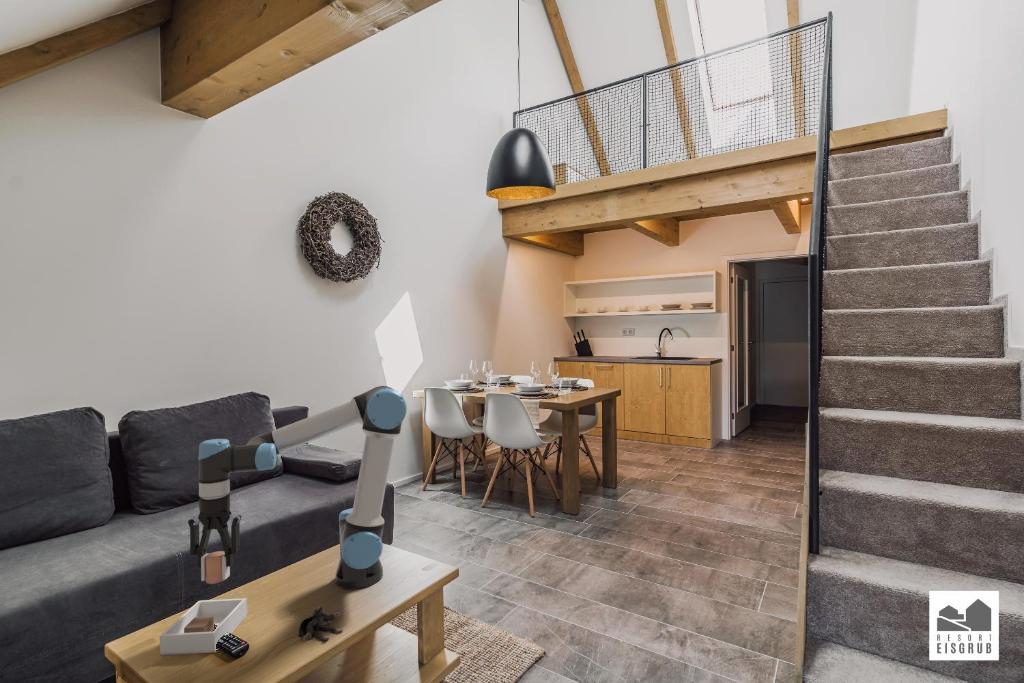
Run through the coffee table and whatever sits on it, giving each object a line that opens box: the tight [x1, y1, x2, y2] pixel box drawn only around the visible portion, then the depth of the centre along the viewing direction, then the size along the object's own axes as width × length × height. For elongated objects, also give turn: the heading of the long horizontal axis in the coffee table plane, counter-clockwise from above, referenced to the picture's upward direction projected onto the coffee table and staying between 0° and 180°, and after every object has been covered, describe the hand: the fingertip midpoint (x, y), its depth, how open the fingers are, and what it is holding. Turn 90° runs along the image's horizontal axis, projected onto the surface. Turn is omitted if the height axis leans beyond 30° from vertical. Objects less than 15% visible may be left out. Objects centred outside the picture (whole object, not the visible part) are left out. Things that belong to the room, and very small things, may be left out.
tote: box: [159, 597, 248, 656], centre depth 140 cm, size 14×18×5 cm
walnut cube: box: [184, 616, 214, 633], centre depth 136 cm, size 5×5×5 cm
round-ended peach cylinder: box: [205, 550, 225, 585], centre depth 145 cm, size 5×5×7 cm
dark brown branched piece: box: [298, 605, 343, 642], centre depth 142 cm, size 12×10×12 cm
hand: (215, 577), depth 144 cm, fingers closed on round-ended peach cylinder, 5 cm apart
